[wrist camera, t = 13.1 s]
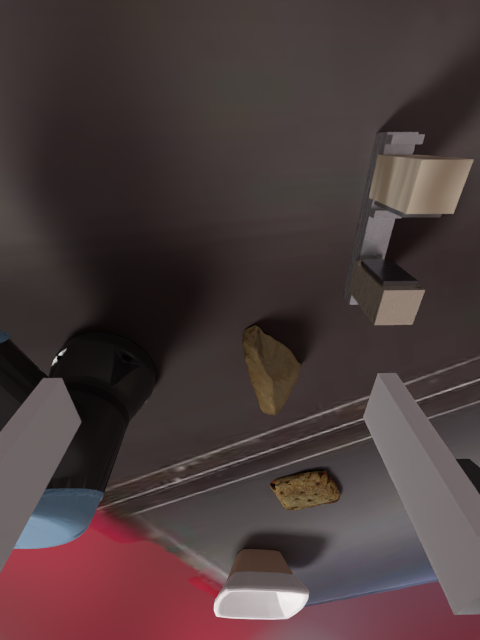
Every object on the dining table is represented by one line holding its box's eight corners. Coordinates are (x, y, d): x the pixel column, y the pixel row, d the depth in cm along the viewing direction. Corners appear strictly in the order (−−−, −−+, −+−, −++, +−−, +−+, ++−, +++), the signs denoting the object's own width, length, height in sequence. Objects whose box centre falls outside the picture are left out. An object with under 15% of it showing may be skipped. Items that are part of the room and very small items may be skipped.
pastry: (287, 459, 61) (289, 472, 59) (357, 474, 65) (362, 487, 62) (256, 499, 70) (256, 513, 67) (319, 510, 73) (322, 524, 71)
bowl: (222, 537, 79) (220, 588, 70) (308, 542, 82) (317, 592, 73) (211, 571, 92) (209, 618, 83) (286, 574, 94) (292, 620, 85)
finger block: (367, 202, 31) (404, 220, 25) (377, 154, 29) (422, 159, 22) (404, 202, 31) (451, 219, 25) (417, 154, 29) (473, 159, 22)
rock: (221, 336, 41) (234, 392, 45) (261, 356, 34) (271, 420, 38) (277, 309, 46) (284, 361, 50) (321, 322, 39) (325, 381, 43)
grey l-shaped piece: (368, 295, 40) (406, 340, 31) (339, 295, 40) (369, 340, 31) (410, 132, 30) (484, 129, 21) (372, 132, 30) (430, 129, 21)
